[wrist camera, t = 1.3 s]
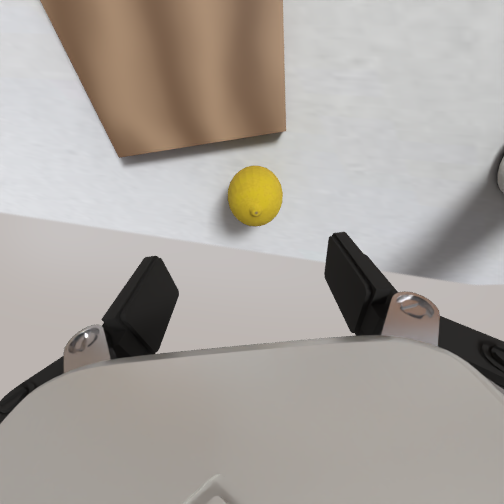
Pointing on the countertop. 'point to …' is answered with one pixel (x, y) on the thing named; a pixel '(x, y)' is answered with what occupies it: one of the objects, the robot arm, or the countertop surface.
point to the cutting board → (177, 68)
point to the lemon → (255, 196)
